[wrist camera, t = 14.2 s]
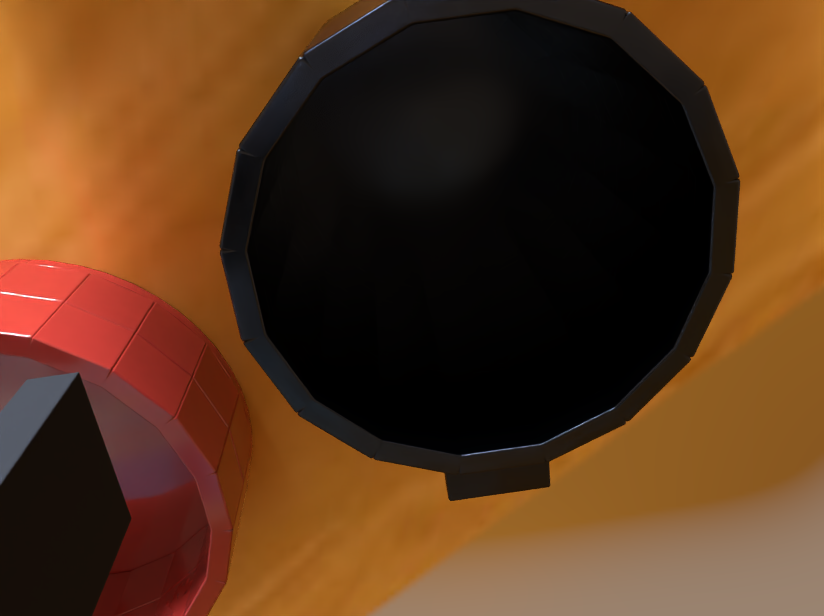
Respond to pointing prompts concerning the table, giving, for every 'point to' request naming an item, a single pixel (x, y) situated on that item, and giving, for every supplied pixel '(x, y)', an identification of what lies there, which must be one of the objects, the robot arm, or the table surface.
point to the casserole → (141, 424)
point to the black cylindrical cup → (479, 231)
